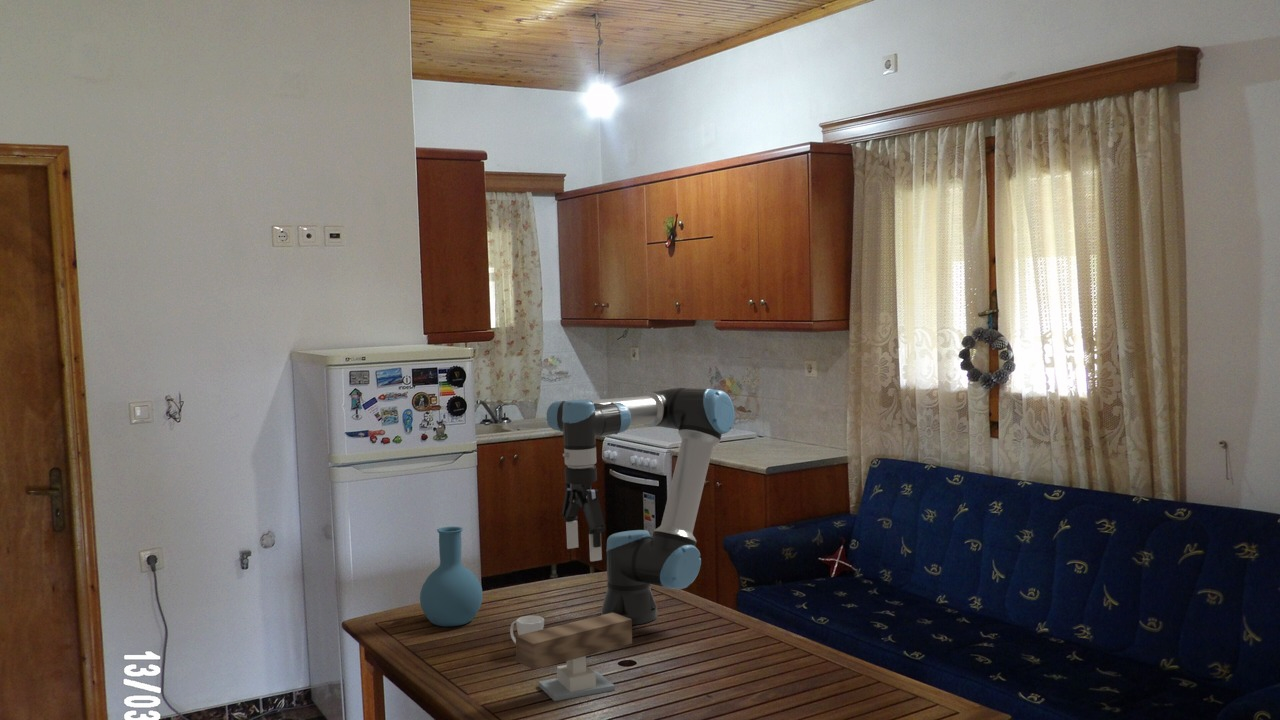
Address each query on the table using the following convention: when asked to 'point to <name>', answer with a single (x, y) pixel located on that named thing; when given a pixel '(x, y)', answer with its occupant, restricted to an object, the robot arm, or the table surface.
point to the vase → (450, 585)
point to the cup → (527, 625)
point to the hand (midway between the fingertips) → (584, 554)
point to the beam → (573, 640)
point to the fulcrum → (575, 681)
